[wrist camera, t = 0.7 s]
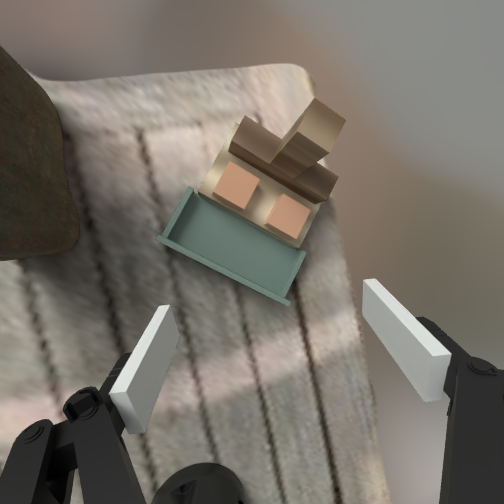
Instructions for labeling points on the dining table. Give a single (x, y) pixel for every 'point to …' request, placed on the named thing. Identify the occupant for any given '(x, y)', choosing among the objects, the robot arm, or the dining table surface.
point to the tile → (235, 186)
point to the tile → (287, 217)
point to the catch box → (232, 246)
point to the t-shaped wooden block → (293, 151)
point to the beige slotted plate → (255, 195)
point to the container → (31, 170)
